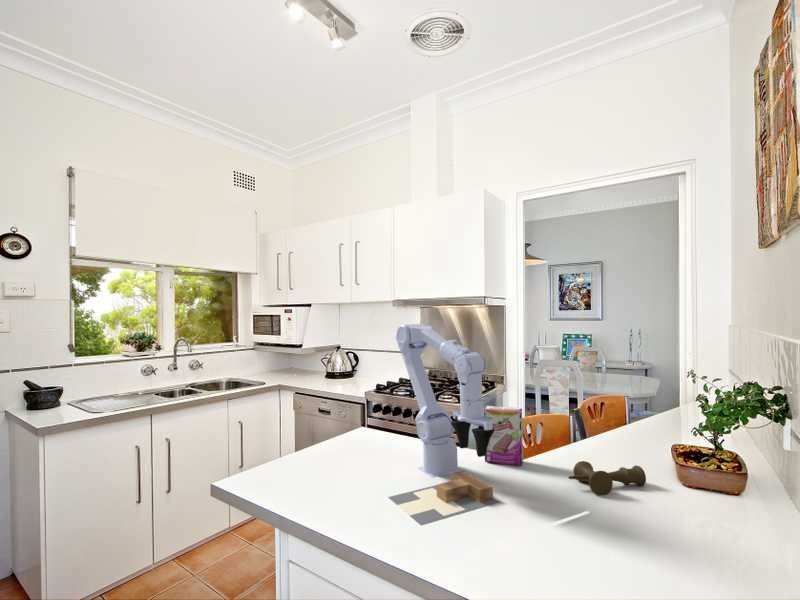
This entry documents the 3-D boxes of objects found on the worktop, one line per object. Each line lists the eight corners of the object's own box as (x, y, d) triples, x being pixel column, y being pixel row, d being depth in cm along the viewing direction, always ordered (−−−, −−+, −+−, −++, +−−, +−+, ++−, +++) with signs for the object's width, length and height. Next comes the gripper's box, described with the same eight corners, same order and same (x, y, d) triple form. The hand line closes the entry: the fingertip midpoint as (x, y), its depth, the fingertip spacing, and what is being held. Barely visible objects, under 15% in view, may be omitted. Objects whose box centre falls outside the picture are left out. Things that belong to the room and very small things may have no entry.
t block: (463, 482, 113) (463, 470, 113) (493, 499, 102) (492, 486, 102) (428, 490, 108) (428, 479, 108) (455, 509, 97) (455, 496, 97)
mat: (460, 481, 115) (460, 479, 115) (500, 504, 101) (500, 501, 101) (388, 499, 104) (388, 497, 104) (421, 527, 90) (421, 525, 90)
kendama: (654, 494, 105) (578, 497, 104) (630, 480, 115) (559, 482, 113) (653, 470, 106) (577, 472, 104) (629, 458, 115) (559, 459, 114)
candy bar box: (484, 463, 128) (483, 408, 128) (486, 457, 133) (485, 405, 133) (522, 466, 124) (521, 410, 125) (523, 461, 129) (522, 407, 129)
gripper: (443, 396, 115) (444, 446, 114) (475, 406, 102) (477, 462, 101) (464, 393, 118) (465, 442, 118) (498, 402, 105) (500, 457, 105)
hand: (472, 451), depth 110 cm, fingers open, 7 cm apart
